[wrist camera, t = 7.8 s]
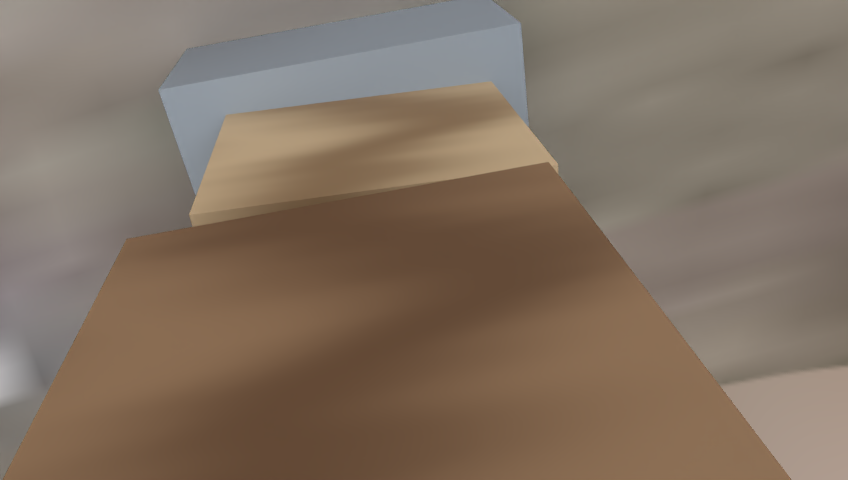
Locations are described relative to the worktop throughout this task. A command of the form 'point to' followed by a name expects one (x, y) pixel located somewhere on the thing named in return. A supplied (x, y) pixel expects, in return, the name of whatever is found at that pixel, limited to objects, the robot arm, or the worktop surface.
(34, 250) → the worktop surface
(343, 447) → the walnut cube
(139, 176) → the worktop surface
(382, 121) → the oak block
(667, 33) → the worktop surface
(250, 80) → the base block
